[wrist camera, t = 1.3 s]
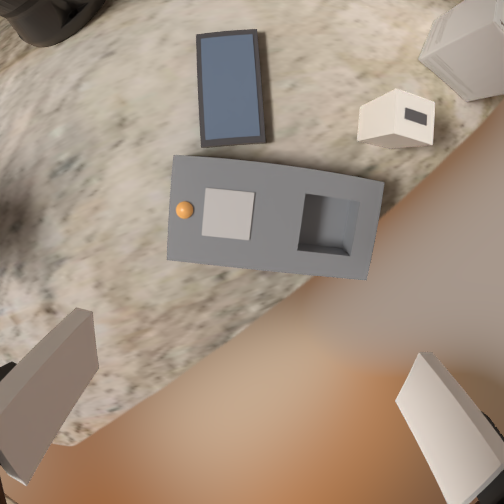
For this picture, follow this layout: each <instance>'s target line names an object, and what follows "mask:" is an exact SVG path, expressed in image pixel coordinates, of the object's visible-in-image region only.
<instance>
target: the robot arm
mask: <svg viewBox="0 0 504 504" xmlns="http://www.w3.org/2000/svg"><path fill="white" fill-rule="evenodd" d="M104 1H105V0H0V16H2V17H4V18H6V19H7V20H8V21H9V23H10V24H11V25H12V27H13V28H14V29H15V30H16V31H17V33H18V35H19V37H20V38H21V39H22V40H23V41H25V42H26V43H29V44H31V45H33V46H36V47H48V46H51V45H54V44H57V43H59V42H61V41H63V40H65V39H67V38H68V37H70V36H71V35H73V34H74V33H75V32H77V31H78V30H79V29H80V28H82V27H83V26H84V25H85V24H86V23H87V22H88V21H89V20H90V19H91V18H92V17H93V16H94V15H95V14H96V12H97V11H98V10H99V9H100V7H101V6H102V5H103V3H104ZM98 369H99V363H98V356H97V349H96V340H95V331H94V321H93V312H92V311H88V310H84V309H80V308H77V307H76V308H75V309H74V310H73V311H72V312H71V313H70V314H69V315H68V316H67V317H65V318H64V319H63V320H62V321H61V322H60V323H59V324H58V325H57V326H56V327H55V328H54V329H53V330H52V331H50V332H49V333H48V334H47V335H46V336H45V337H44V338H43V339H42V340H41V341H40V342H39V343H38V344H37V345H36V346H35V347H34V348H33V349H32V350H31V351H30V352H29V353H28V354H27V355H26V356H25V357H24V358H23V359H22V360H21V361H20V362H19V363H18V364H16V363H14V362H10V363H8V364H6V365H4V366H2V367H0V465H1V466H2V467H3V469H4V470H5V471H6V473H7V474H8V475H9V476H11V477H12V478H14V479H16V480H18V481H19V482H21V483H22V484H24V485H26V486H27V485H28V483H29V481H30V479H31V478H32V476H33V474H34V472H35V470H36V469H37V467H38V465H39V463H40V462H41V460H42V458H43V456H44V455H45V453H46V451H47V450H48V448H49V446H50V444H51V443H52V441H53V440H54V438H55V436H56V435H57V433H58V431H59V430H60V428H61V426H62V425H63V423H64V421H65V420H66V418H67V417H68V415H69V413H70V412H71V410H72V409H73V407H74V406H75V404H76V402H77V401H78V399H79V398H80V396H81V395H82V393H83V392H84V390H85V389H86V387H87V386H88V384H89V382H90V381H91V379H92V378H93V376H94V375H95V373H96V372H97V370H98ZM395 401H396V403H397V405H398V407H399V409H400V411H401V412H402V414H403V416H404V418H405V420H406V422H407V424H408V425H409V427H410V429H411V431H412V433H413V435H414V437H415V439H416V441H417V442H418V445H419V446H420V448H421V450H422V452H423V454H424V456H425V458H426V460H427V462H428V464H429V466H430V468H431V470H432V472H433V474H434V476H435V478H436V480H437V482H438V484H439V486H440V489H441V491H442V493H443V495H444V497H445V499H446V501H447V503H448V504H469V503H470V502H471V501H472V500H473V499H474V498H475V497H477V498H478V500H479V501H477V502H476V503H475V504H504V437H503V435H502V434H500V432H499V430H498V429H497V427H495V425H494V423H493V422H492V421H491V419H490V418H489V417H488V416H487V415H486V414H484V413H483V412H482V411H480V410H479V408H478V407H477V406H476V405H475V403H474V402H473V401H472V400H471V398H470V397H469V396H468V395H467V393H466V392H465V391H464V390H463V388H462V387H461V386H460V385H459V383H458V382H457V381H456V380H455V379H454V377H453V376H452V375H451V374H450V373H449V372H448V370H447V369H446V368H445V367H444V365H443V364H442V363H441V362H440V361H439V360H438V358H437V357H436V356H435V355H434V354H433V353H432V352H419V353H418V356H417V358H416V360H415V362H414V365H413V366H412V369H411V371H410V373H409V375H408V377H407V379H406V381H405V383H404V385H403V387H402V389H401V391H400V393H399V395H398V396H397V398H396V400H395ZM0 504H7V503H6V499H5V495H4V491H3V487H2V483H1V478H0Z"/></svg>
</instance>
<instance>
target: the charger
mask: <svg viewBox="0 0 504 504" xmlns="http://www.w3.org/2000/svg"><path fill="white" fill-rule="evenodd" d="M434 116H435V102H433V101H430V100H428V99H425V98H423V97H420V96H417V95H414V94H411V93H409V92H406V91H403V90H400V89H397V88H396V89H394V90H392V91H390V92H388V93H386V94H384V95H382V96H380V97H378V98H376V99H374V100H372V101H370V102H368V103H366V104H364V105H362V106H360V112H359V124H358V135H357V141H358V142H363V143H367V144H371V145H376V146H380V147H384V148H388V149H393V148H403V147H415V146H429V145H433V134H434Z"/></svg>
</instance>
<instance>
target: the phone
mask: <svg viewBox="0 0 504 504" xmlns="http://www.w3.org/2000/svg"><path fill="white" fill-rule="evenodd" d="M196 47H197V78H198V101H199V120H200V137H201V147H202V148H208V147H218V146H230V145H244V144H260V143H265V127H264V113H263V99H262V86H261V73H260V60H259V48H258V36H257V29H250V30H234V31H223V32H213V33H205V34H197V35H196Z"/></svg>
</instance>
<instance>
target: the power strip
mask: <svg viewBox="0 0 504 504" xmlns="http://www.w3.org/2000/svg"><path fill="white" fill-rule="evenodd" d="M383 189H384V182H380V181H375V180H371V179H365V178H360V177H355V176H350V175H344V174H338V173H333V172H327V171H320V170H314V169H308V168H301V167H294V166H287V165H279V164H271V163H263V162H254V161H245V160H235V159H224V158H212V157H198V156H183V155H174V157H173V167H172V178H171V191H170V205H169V221H168V242H167V260H172V261H181V262H190V263H199V264H208V265H217V266H226V267H235V268H245V269H254V270H264V271H274V272H284V273H294V274H304V275H315V276H326V277H337V278H347V279H358V280H367V275H368V271H369V266H370V262H371V257H372V252H373V247H374V242H375V237H376V232H377V226H378V221H379V215H380V209H381V203H382V196H383Z"/></svg>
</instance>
